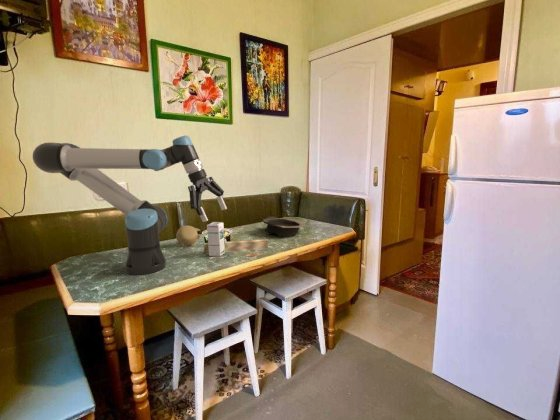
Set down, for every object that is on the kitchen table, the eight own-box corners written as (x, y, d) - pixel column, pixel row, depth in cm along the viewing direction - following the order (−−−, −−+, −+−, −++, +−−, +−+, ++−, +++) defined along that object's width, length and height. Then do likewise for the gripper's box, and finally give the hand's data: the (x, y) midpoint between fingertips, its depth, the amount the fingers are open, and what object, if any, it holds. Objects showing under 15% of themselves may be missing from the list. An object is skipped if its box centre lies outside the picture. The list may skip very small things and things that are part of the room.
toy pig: (204, 246, 153) (203, 225, 151) (180, 250, 146) (178, 229, 144) (198, 241, 161) (196, 222, 159) (174, 245, 154) (173, 225, 152)
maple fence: (202, 259, 132) (202, 251, 132) (204, 251, 144) (204, 243, 143) (270, 254, 138) (270, 246, 137) (267, 247, 149) (267, 239, 148)
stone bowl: (252, 233, 175) (253, 217, 174) (284, 229, 192) (285, 214, 191) (282, 241, 157) (282, 223, 156) (314, 235, 174) (314, 219, 173)
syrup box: (220, 256, 136) (219, 224, 133) (208, 255, 137) (206, 224, 135) (225, 252, 141) (224, 222, 139) (213, 252, 143) (212, 221, 140)
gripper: (180, 177, 121) (202, 225, 125) (219, 161, 141) (237, 203, 145) (168, 182, 125) (190, 228, 129) (208, 166, 145) (226, 206, 150)
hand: (215, 215), depth 137 cm, fingers open, 13 cm apart
